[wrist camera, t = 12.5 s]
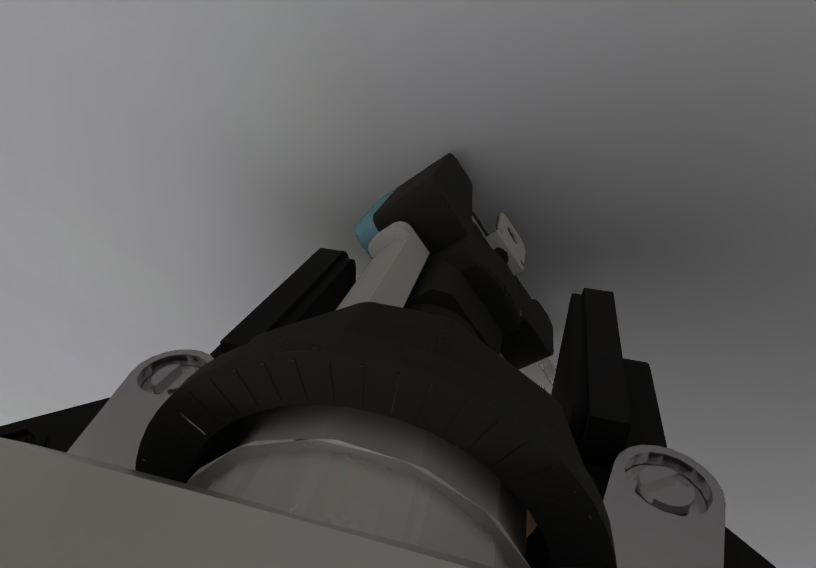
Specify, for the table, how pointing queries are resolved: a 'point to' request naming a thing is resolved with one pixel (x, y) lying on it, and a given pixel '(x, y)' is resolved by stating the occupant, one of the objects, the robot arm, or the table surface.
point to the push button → (403, 400)
